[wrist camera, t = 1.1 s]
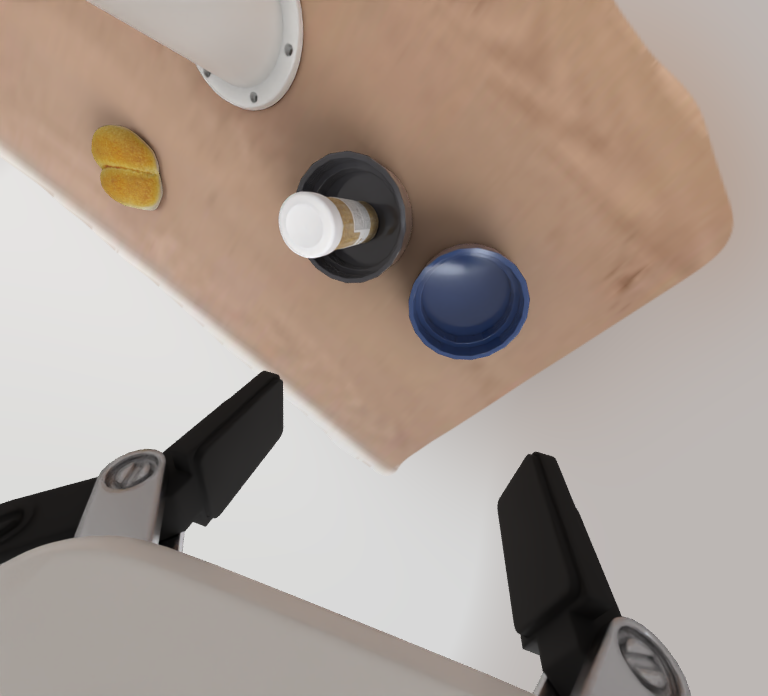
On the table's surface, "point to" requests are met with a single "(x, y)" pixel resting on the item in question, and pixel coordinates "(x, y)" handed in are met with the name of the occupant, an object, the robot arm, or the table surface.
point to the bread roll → (127, 167)
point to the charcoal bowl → (379, 189)
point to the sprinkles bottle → (325, 223)
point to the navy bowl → (468, 302)
